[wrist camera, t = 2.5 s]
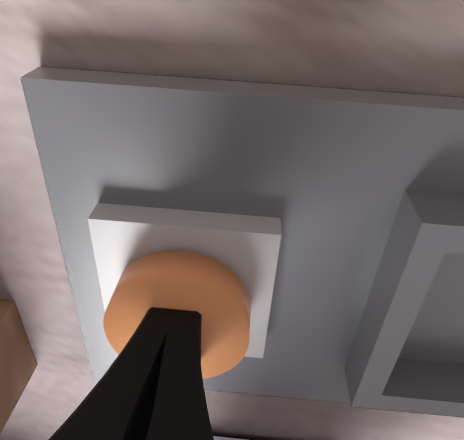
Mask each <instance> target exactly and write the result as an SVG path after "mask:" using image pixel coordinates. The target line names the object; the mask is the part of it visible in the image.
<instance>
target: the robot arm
mask: <svg viewBox="0 0 464 440" xmlns="http://www.w3.org/2000/svg"><path fill="white" fill-rule="evenodd" d="M201 328H202V315H201V314H200V313H199V312H198V311H189V310H178V309H167V308H156V307H151V308H150V309H148V311H147V313H146V314H145V316H144V318H143V319H142V321H141V323H140V324H139V326H138V327H137V329H136V331H135V332H134V334H133V335H132V337H131V338H130V340H129V341H128V342H127V344H126V345H125V347H124V348H123V350H122V351H121V353H120V354H119V355H118V357H117V358H116V359H115V361H114V362H113V363H112V365H111V366H110V367H109V369H108V370H107V372H106V373H105V374H104V376H103V377H102V378H101V379H100V381H99V382H98V383H97V384H96V386H95V387H94V388H93V389H92V390H91V392H90V393H89V394H88V395H87V397H86V398H85V399H84V400H83V401H82V403H81V404H80V405H79V406H78V407H77V409H76V410H75V411H74V412H73V413H72V414H71V416H70V417H69V418H68V419H67V420H66V421H65V422H64V423H63V425H62V426H61V427H60V428H59V429H58V430H57V431H56V432H55V433H54V434H53V435H52V436H51V437H50V439H49V440H248V439H238V438H228V437H218V436H213V434H212V430H211V425H210V420H209V415H208V410H207V404H206V398H205V392H204V385H203V377H202V370H201Z"/></svg>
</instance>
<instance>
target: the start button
mask: <svg viewBox="0 0 464 440" xmlns="http://www.w3.org/2000/svg"><path fill="white" fill-rule="evenodd" d="M151 307H156V308H167V309H178V310H189V311H198V312H199V313H200V314H201V315H202V328H201V370H202V377H203V379H206V378H211V377H214V376H218V375H220V374H223V373H225V372H227V371H229V370H230V369H232V368H233V367H235V366H236V365H237V364H238V363H239V362H240V361H241V360H242V359H243V357H244V356H245V354H246V352H247V350H248V346H249V336H250V315H251V301H250V296H249V293H248V290H247V289H246V287H245V285H244V283H243V282H242V281H241V280H240V278H239V277H238V276H237V275H236V274H235V273H234V272H233V271H231V270H230V269H229V268H228V267H226V266H225V265H223V264H221V263H220V262H218V261H216V260H213V259H211V258H209V257H206V256H203V255H200V254H196V253H191V252H184V251H165V252H158V253H154V254H150V255H147V256H145V257H142V258H140V259H138V260H137V261H135V262H133V263H132V264H131V265H130V266H129V267H127V268H126V270H125V271H124V272H123V273H122V275H121V277H120V279H119V281H118V283H117V285H116V288H115V290H114V292H113V295H112V297H111V299H110V302H109V304H108V306H107V308H106V311H105V314H104V319H103V327H104V332H105V335H106V338H107V340H108V342H109V343H110V345H111V346H112V348H113V349H114V350H115V351H116V352H117V353H118V354H120V353H121V351H122V350H123V348H124V347H125V345H126V344H127V342H128V341H129V340H130V338H131V337H132V335H133V334H134V332H135V331H136V329H137V327H138V326H139V324H140V323H141V321H142V319H143V318H144V316H145V314H146V313H147V311H148V309H150V308H151Z"/></svg>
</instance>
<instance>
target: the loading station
mask: <svg viewBox="0 0 464 440" xmlns="http://www.w3.org/2000/svg"><path fill="white" fill-rule="evenodd" d="M21 82H22V87H23V91H24V95H25V99H26V103H27V107H28V112H29V116H30V120H31V124H32V128H33V132H34V137H35V141H36V145H37V149H38V153H39V157H40V162H41V166H42V170H43V174H44V178H45V182H46V187H47V191H48V195H49V199H50V203H51V207H52V212H53V216H54V220H55V224H56V228H57V232H58V237H59V241H60V245H61V249H62V253H63V257H64V262H65V266H66V270H67V274H68V278H69V283H70V287H71V291H72V295H73V299H74V303H75V308H76V312H77V316H78V320H79V324H80V328H81V333H82V337H83V341H84V345H85V349H86V353H87V358H88V362H89V366H90V370H91V374H92V378H93V379H99V380H100V379H101V378H102V377H103V376H104V374H105V373H106V372H107V370H108V369H109V367H110V366H111V365H112V363H113V362H114V361H115V359H116V358H117V357H118V355H119V354H118V353H117V352H116V351H115V350H114V349H113V348H112V346H111V345H110V343H109V342H108V340H107V338H106V335H105V332H104V327H103V319H104V314H105V311H106V308H107V306H108V304H109V302H110V299H111V297H112V295H113V292H114V290H115V288H116V285H117V283H118V281H119V279H120V277H121V275H122V273H123V272H124V271H125V270H126V268H127V267H129V266H130V265H131V264H132V263H133V262H135V261H137V260H138V259H140V258H142V257H145V256H147V255H150V254H154V253H158V252H165V251H184V252H191V253H196V254H200V255H203V256H206V257H209V258H211V259H213V260H216V261H218V262H220V263H221V264H223V265H225V266H226V267H228V268H229V269H230V270H231V271H233V272H234V273H235V274H236V275H237V276H238V277H239V278H240V280H241V281H242V282H243V283H244V285H245V287H246V289H247V290H248V293H249V296H250V301H251V315H250V336H249V346H248V350H247V352H246V354H245V356H244V357H243V359H242V360H241V361H240V362H239V363H238V364H237V365H236V366H235V367H233V368H232V369H230V370H229V371H227V372H225V373H223V374H220V375H218V376H214V377H211V378H206V379H203V385H204V390H212V391H223V392H233V393H243V394H254V395H264V396H274V397H285V398H295V399H305V400H316V401H326V402H336V403H347V404H351V407H359V408H370V409H380V410H390V411H401V412H411V413H421V414H432V415H442V416H452V417H463V418H464V98H463V97H449V96H435V95H422V94H408V93H394V92H381V91H367V90H353V89H339V88H326V87H312V86H298V85H285V84H271V83H257V82H244V81H230V80H216V79H202V78H189V77H175V76H161V75H148V74H134V73H120V72H107V71H93V70H79V69H65V68H52V67H38V68H36V69H35V70H33V71H31V72H29V73H28V74H26V75H24V76H22V77H21Z"/></svg>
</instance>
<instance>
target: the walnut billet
mask: <svg viewBox="0 0 464 440" xmlns="http://www.w3.org/2000/svg"><path fill="white" fill-rule="evenodd" d="M36 367H37V363H36V360H35V357H34V354H33V351H32V349H31V346H30V343H29V340H28V337H27V335H26V332H25V329H24V326H23V323H22V321H21V318H20V315H19V312H18V309H17V307H16V304H15V301H8V300H0V433H1V432H2V430H3V428H4V426H5V424H6V422H7V420H8V419H9V417H10V415H11V413H12V411H13V409H14V407H15V406H16V404H17V402H18V400H19V398H20V396H21V394H22V393H23V391H24V389H25V387H26V385H27V383H28V381H29V380H30V378H31V376H32V374H33V372H34V370H35V368H36Z"/></svg>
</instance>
